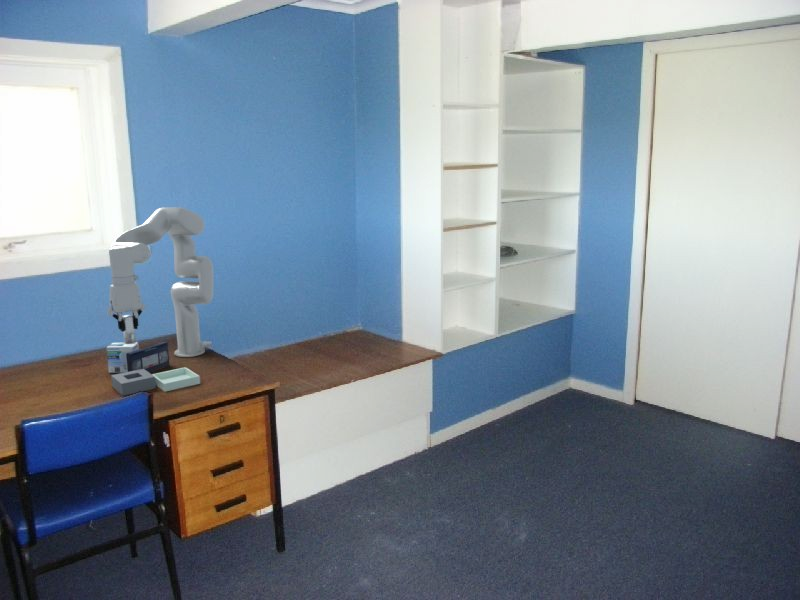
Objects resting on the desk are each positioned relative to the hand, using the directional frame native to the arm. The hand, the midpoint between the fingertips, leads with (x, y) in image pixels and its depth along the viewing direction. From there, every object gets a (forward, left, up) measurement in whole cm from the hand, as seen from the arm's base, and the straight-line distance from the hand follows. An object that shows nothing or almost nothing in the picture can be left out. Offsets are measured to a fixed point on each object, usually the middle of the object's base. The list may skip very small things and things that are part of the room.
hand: (128, 328), depth 250 cm
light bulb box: (-4, -23, -23) cm, 32 cm away
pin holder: (0, 0, -22) cm, 22 cm away
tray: (-14, +5, -22) cm, 27 cm away
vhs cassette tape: (-11, -15, -23) cm, 29 cm away
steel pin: (0, 0, -5) cm, 5 cm away
